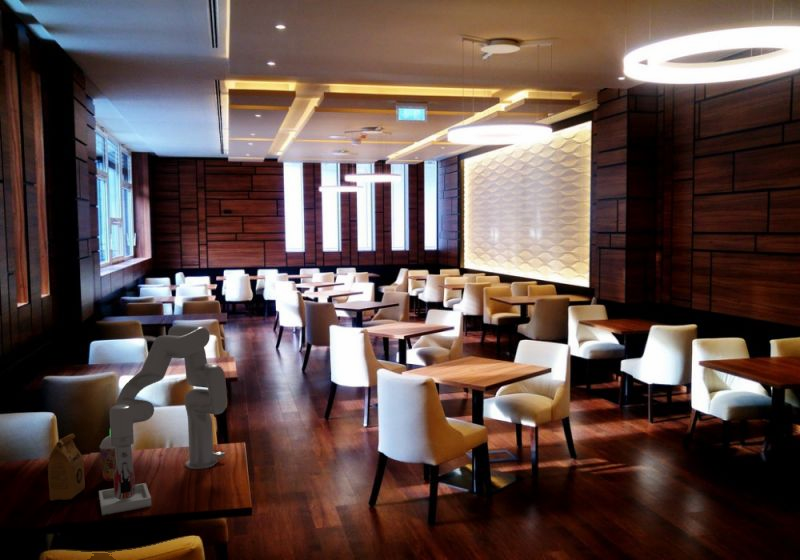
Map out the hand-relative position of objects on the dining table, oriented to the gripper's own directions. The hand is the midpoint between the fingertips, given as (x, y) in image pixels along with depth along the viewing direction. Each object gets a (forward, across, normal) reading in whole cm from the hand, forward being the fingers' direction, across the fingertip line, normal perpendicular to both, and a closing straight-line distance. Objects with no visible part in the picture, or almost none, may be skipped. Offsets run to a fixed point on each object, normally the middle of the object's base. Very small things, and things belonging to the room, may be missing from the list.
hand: (124, 488), depth 245 cm
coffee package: (+5, +17, +18) cm, 25 cm away
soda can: (+3, 0, 0) cm, 3 cm away
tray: (+5, 0, 0) cm, 5 cm away
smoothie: (+5, +27, +2) cm, 27 cm away
